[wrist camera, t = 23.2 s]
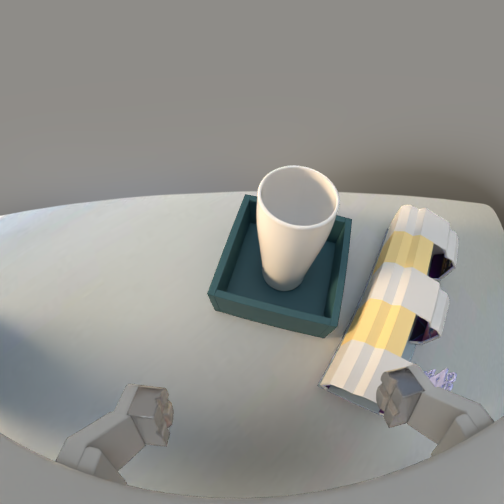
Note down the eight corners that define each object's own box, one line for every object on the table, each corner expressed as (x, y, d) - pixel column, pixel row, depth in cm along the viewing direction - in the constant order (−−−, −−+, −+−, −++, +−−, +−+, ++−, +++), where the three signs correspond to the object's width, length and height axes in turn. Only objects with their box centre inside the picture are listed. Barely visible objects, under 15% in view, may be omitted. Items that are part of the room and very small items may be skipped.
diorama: (385, 417, 26) (450, 422, 14) (315, 385, 28) (354, 381, 17) (438, 259, 36) (486, 211, 24) (386, 228, 38) (423, 169, 27)
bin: (214, 310, 33) (206, 293, 28) (246, 220, 39) (245, 193, 34) (323, 338, 31) (337, 327, 26) (340, 243, 37) (352, 219, 32)
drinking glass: (291, 240, 37) (308, 155, 23) (320, 281, 34) (357, 207, 20) (246, 263, 35) (240, 181, 22) (274, 308, 32) (287, 244, 19)
